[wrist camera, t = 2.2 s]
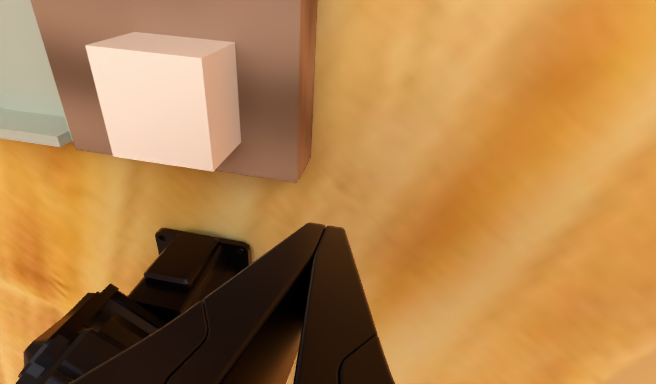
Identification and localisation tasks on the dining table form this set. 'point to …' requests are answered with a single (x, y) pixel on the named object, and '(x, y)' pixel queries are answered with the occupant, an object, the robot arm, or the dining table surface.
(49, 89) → the tray
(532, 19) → the dining table surface
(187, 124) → the pale pink cube
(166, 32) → the plate
